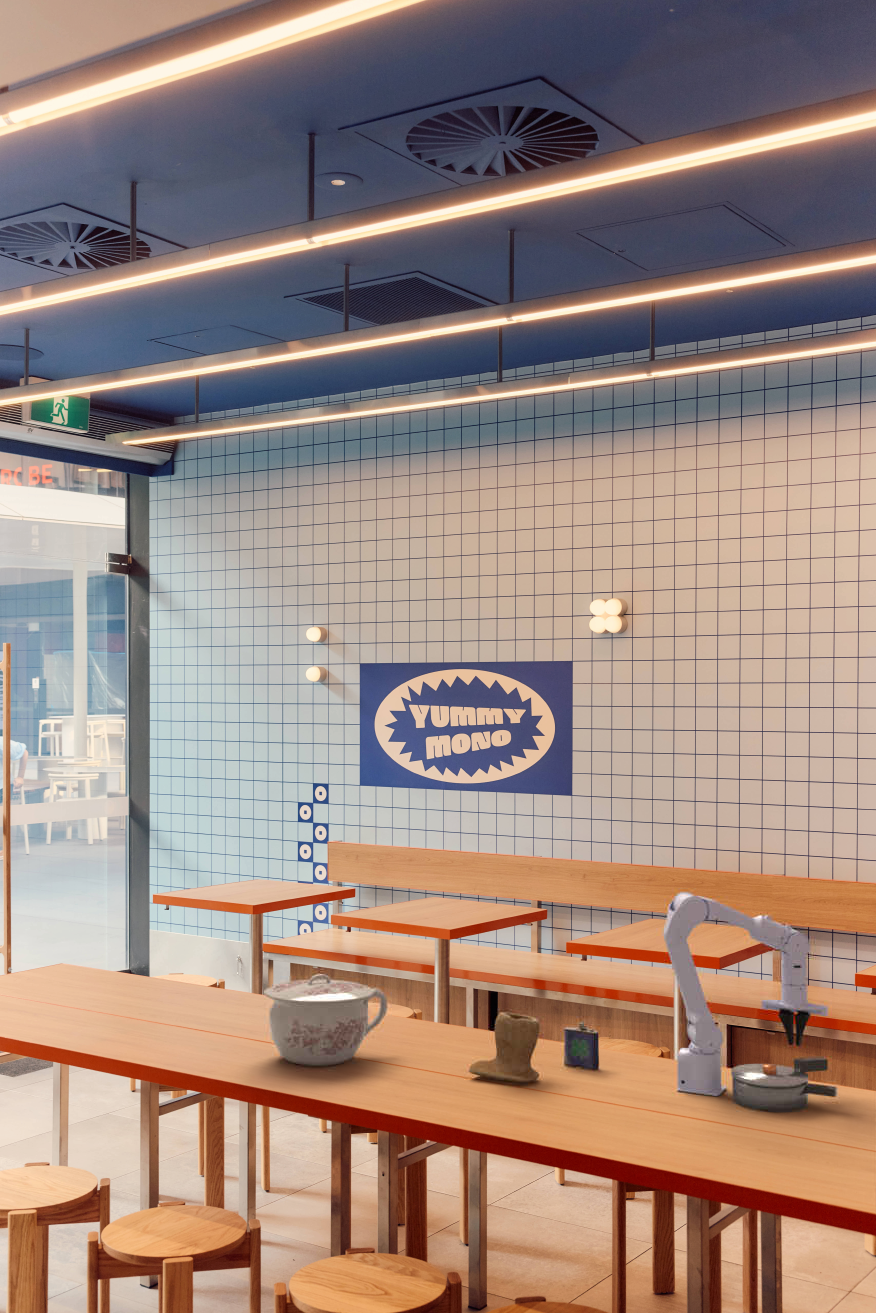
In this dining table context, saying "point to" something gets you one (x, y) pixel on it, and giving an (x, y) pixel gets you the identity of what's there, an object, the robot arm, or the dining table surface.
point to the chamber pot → (321, 1019)
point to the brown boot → (511, 1049)
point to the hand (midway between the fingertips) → (794, 1044)
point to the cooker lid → (779, 1073)
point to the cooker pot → (777, 1096)
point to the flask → (581, 1047)
